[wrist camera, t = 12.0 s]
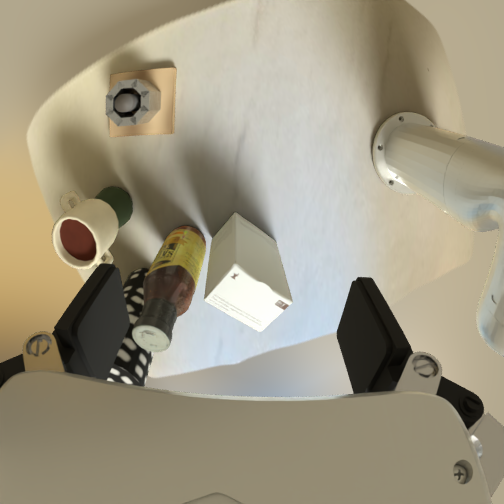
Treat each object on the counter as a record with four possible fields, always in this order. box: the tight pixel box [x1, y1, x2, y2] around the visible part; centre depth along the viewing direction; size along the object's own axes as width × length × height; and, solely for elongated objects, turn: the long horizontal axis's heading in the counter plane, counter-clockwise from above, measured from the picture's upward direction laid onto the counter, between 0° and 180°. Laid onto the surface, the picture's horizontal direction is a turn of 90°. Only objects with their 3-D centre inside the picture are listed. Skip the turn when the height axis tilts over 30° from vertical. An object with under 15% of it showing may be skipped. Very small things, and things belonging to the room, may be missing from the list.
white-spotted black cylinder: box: [107, 268, 154, 387], centre depth 39 cm, size 8×8×20 cm
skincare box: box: [204, 212, 293, 332], centre depth 37 cm, size 8×6×15 cm
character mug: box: [52, 187, 133, 270], centre depth 35 cm, size 11×7×13 cm, turn 22°
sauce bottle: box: [132, 226, 206, 352], centre depth 35 cm, size 7×6×20 cm
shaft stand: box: [109, 68, 177, 137], centre depth 30 cm, size 9×9×7 cm
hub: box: [106, 79, 161, 127], centre depth 30 cm, size 6×6×5 cm
